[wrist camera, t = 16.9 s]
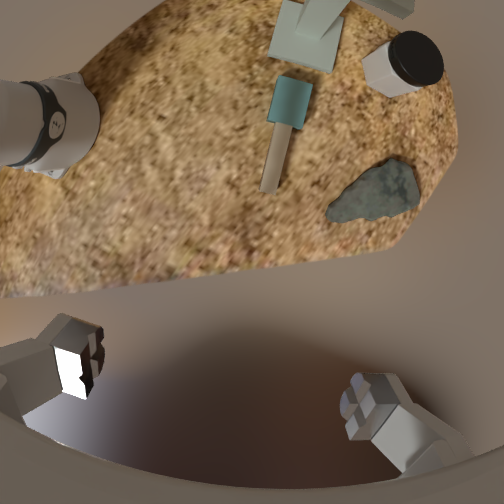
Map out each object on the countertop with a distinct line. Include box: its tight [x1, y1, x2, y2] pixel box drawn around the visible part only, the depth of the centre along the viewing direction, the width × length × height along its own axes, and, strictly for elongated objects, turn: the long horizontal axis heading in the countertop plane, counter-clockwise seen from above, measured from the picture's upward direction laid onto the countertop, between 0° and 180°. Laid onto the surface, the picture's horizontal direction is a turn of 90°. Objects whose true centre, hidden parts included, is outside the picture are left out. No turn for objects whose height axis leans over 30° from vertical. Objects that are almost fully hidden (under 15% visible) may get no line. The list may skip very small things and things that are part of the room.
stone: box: [325, 158, 420, 223], centre depth 45 cm, size 17×3×10 cm
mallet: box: [259, 75, 313, 195], centre depth 42 cm, size 5×18×3 cm, turn 167°
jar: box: [362, 31, 444, 98], centre depth 34 cm, size 9×8×12 cm
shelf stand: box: [267, 0, 415, 74], centre depth 25 cm, size 10×11×26 cm
